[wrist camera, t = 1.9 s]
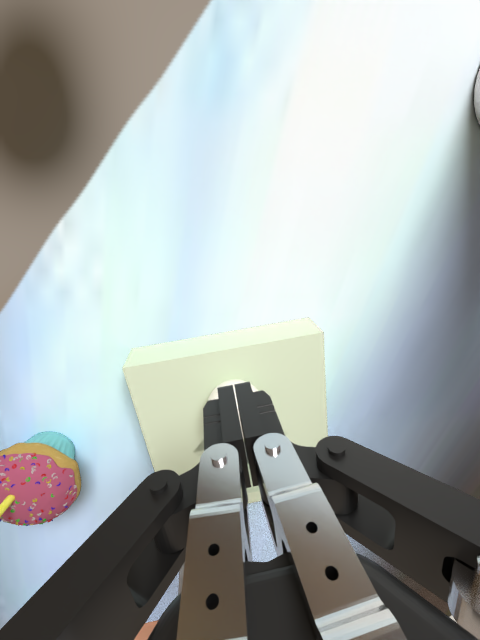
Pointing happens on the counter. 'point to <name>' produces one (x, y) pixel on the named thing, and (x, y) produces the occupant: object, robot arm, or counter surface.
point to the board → (215, 368)
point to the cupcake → (38, 479)
